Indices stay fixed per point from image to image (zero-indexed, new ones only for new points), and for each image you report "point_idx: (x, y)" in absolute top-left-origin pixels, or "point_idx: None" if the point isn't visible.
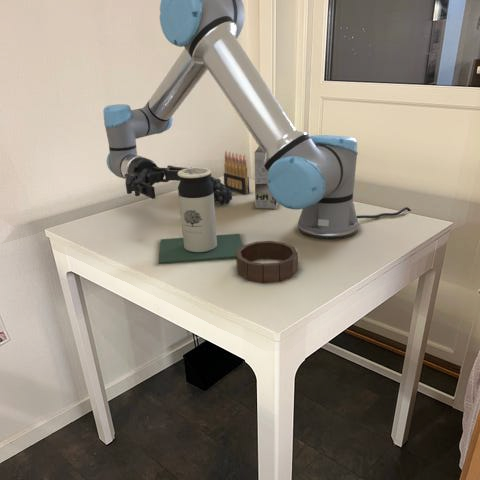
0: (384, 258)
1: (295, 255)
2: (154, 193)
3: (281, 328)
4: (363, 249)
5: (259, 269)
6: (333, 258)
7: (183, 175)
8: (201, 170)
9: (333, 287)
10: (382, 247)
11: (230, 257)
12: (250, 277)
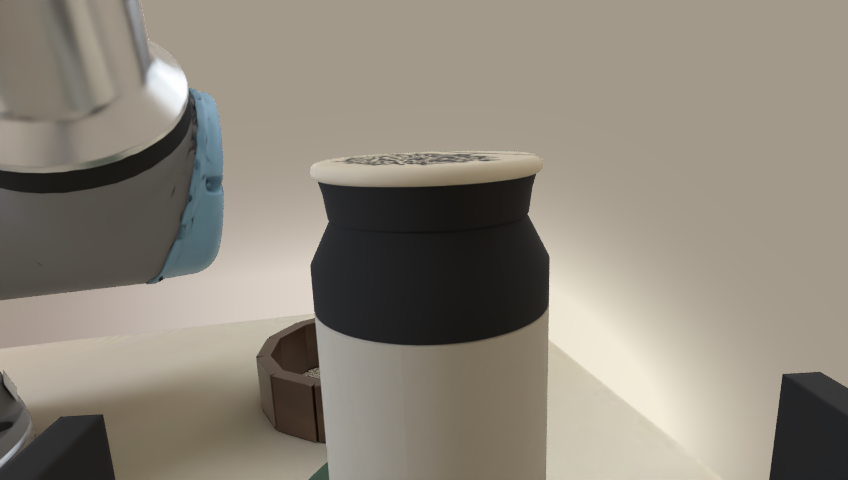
0: (121, 341)
1: (312, 319)
2: (780, 445)
3: None
4: (78, 371)
5: None
6: (180, 370)
7: (521, 152)
8: (375, 158)
9: None
10: (44, 363)
11: None
12: None
